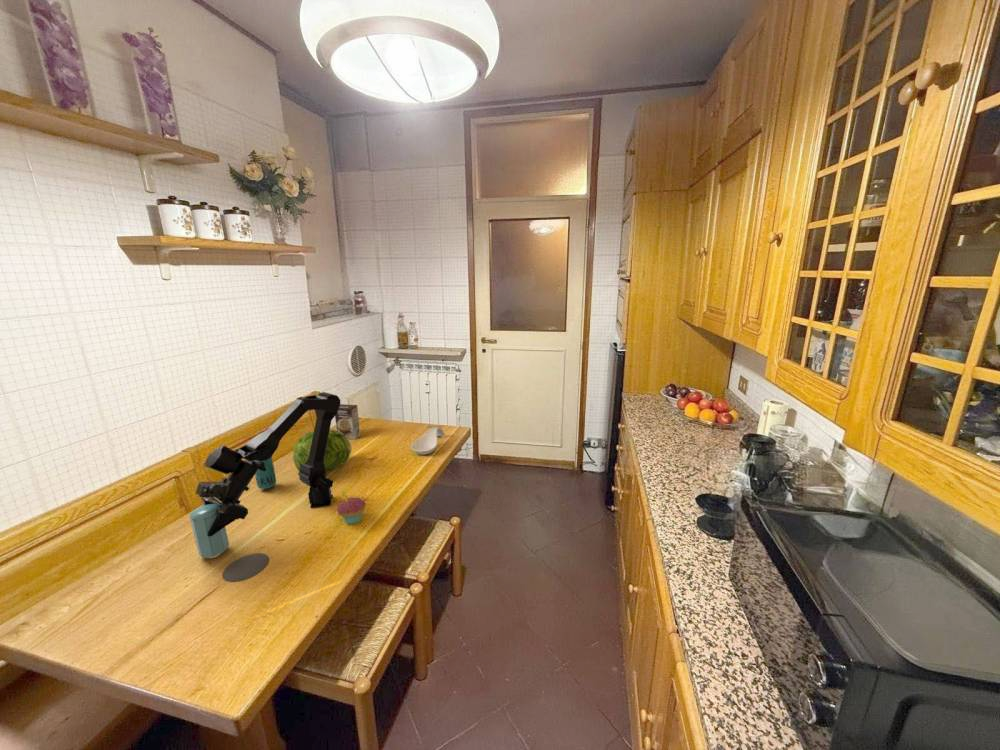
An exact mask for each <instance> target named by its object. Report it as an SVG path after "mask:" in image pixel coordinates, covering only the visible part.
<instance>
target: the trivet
mask: <svg viewBox="0 0 1000 750" xmlns="http://www.w3.org/2000/svg"><path fill="white" fill-rule="evenodd" d="M269 562H270V557H269V556H268V555H267V554H265V553H259V552H258V553H257V552H256V553H250V554H247V555H244V556H242V557H238V558H237V559H235V560H233V561H232V562H230V564H228V565H227V566H226V567H225V568H224V570H223V572H222V576H221V577H222V579H223V580H224V581H225V582H228V583H237V582H239V583H240V582H243V581H246V580H249V579H251V578H253V577H255V576H257V575H259V574H260V573H261V572H263V571H264V570H265V569H266V568H267V566H268V565H269V564H270V563H269Z"/></svg>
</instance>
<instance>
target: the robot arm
mask: <svg viewBox="0 0 1000 750" xmlns="http://www.w3.org/2000/svg"><path fill="white" fill-rule="evenodd" d="M340 405H341V399H340V397H339V396H338V395H336V394H333V393H329V392H326V391H322V392H320V393H318V394H313V395H311V394H310V395H307V396H299V397H297V398H295V400H294V402H293V403H292V404H291V405H290V406H289V407H288V408H287V409H286V410H285V411H284V413H283V414H281V416H279V417H278V418H277V420H275V421H274V422H273V424H271V426H270V427H268V428H267V429H266V430H265V431H262V432H260V433H259V434H257V435H256V436H254V437H253V438H252V439H250V440H249V441H248V442H247V443H246V444H245V445H243V446H241V447H237V448H236V449H231V448H229V447H228V446H226V445H224V444H220V445H219V447H218V448H215V449H214V450H213V451H212V452H210V453H209V454H208V455H207V458H206V459H205V462H204V466H205V468H208V469H210V470H213V471H216V472H219V473H221V474H225V475H228V477H225V476H224V477H223V478H222V479H220V481H199V482H198V485H197V487H196V491H195V495H198V497H199V498H200V499H201V502H202V503H203V505H202V506H204V505H208V504H218V505H219V506H220V510H217V509H216V514H217V517H216V519H215V521H214V522H213V524H212V526H211V528H210V530H209V532H208V534H207V536H212V535H214V534H215V533H217V532H218V531H220V530H221V529H222V528H224V527H225V528H226V526H228V525H230V524H232V523H233V522H234V521H237V520H240V519H241V520H245V519H246V518H247V516H248V514H249V509H248V508H247V507H246V506H244V505H242V504H240V503H241V500H239V499H240V498H241V497H242V495H243V493H244V492H248V491H249V490H250V487H249V484H250V482H251V481H252V480H253V478H255V477H254V476H255V474H256V472H257V471H258V469H259V470H262V471H266V468H265V463H264V462H262V461H265V460H268V459H269V458H270V457H271V456H272V457H273V455H274V454H275V453H276V451H277V449H278V448H279V445H280V442H281V440H282V439H283V438H284V436H285V435H286V434H287V433H288V432H289V431H290V429H291V428H293V427H294V425H296V423H297V422H299V420H300V419H301V418H302V417H303V416H304V415H305V414H306V413H307V411H312V410H314V412H315V416H316V419H315V424H314V430H313V431H314V434H313V439H312V444H311V449H310V453H309V458H308V460H307V461H306V463H305V464H303V463H301V464H300V471H298V473H297V475H298V476H299V478H298V479H299V480H300V482H301V483H303V484H304V485H306V486H307V487H309V489H308V492H307V495H308V501H309V504H310V506H309V507H310V508H311V509H312V508H314V509H315V508H321V507H326V506H331V504H332V501H333V498H334V495H333V494H332V489H331V488H333V484H334V480H332V479H331V478H328V477H326V476H327V475H326V474H327V472H326V469H325V465H324V456H325V451H326V446H327V441H328V436H329V431H330V430H331V426H332V420H333V419H334V418H335V415H336V414H337V412H338V409H339V406H340ZM253 460H258V461H259V462H256V461H253Z"/></svg>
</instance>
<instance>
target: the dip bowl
mask: <svg viewBox="0 0 1000 750" xmlns="http://www.w3.org/2000/svg"><path fill="white" fill-rule="evenodd" d="M221 554H222V553H220V554H218V555H216V556H213V557H207V559H215V558H216V557H217V558H218V556H220V555H221Z"/></svg>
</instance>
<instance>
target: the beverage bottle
mask: <svg viewBox="0 0 1000 750" xmlns="http://www.w3.org/2000/svg"><path fill="white" fill-rule="evenodd" d="M253 461H256V462H259V461H258V460H253ZM262 462H264V463H265V468H266V471H262V470H259V469H258V471H257V472H256V474H255V475H254V476H255V477H254V478H255V481H256V486H257V488H258V489H259V490H260V489H263V490H264V489H265V490H267V489H270V488H272V487H273V486H275V485H276V484H277V478H276V477H277V475H276V471H275V465H274V463H273V462H274V461H273V455H272V456H271V457H270V458H269V459H268V460H265V461H262Z"/></svg>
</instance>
